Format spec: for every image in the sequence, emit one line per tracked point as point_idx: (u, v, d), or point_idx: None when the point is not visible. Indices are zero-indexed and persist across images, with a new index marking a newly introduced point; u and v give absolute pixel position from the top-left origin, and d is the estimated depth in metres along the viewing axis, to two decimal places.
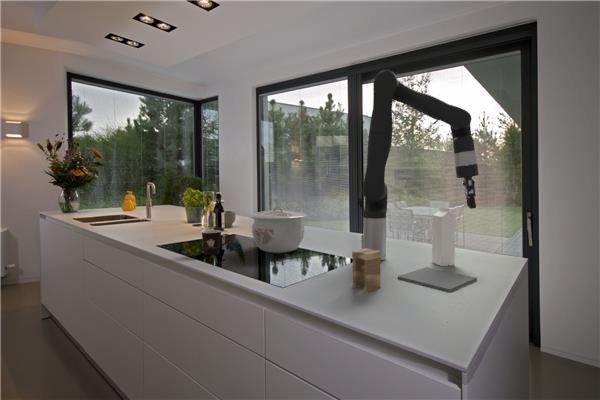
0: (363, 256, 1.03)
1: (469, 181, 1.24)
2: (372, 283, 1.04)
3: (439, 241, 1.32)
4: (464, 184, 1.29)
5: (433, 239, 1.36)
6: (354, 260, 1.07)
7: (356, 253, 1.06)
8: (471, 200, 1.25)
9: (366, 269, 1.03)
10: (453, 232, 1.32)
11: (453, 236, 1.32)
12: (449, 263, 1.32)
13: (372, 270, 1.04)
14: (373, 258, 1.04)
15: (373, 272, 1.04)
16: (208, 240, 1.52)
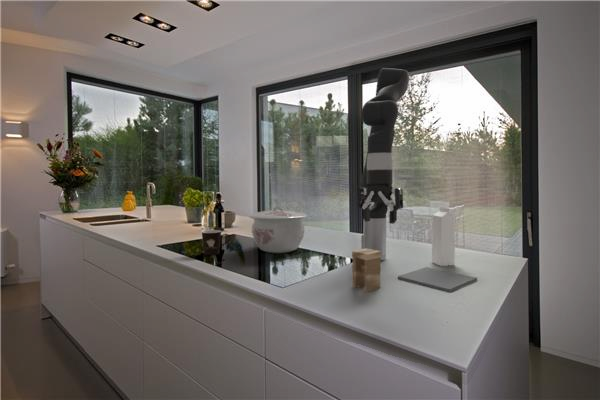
0: (363, 256, 1.03)
1: None
2: (372, 283, 1.04)
3: (439, 241, 1.32)
4: None
5: (433, 239, 1.36)
6: (354, 260, 1.07)
7: (356, 253, 1.06)
8: None
9: (366, 269, 1.03)
10: (453, 232, 1.32)
11: (453, 236, 1.32)
12: (449, 263, 1.32)
13: (372, 270, 1.04)
14: (373, 258, 1.04)
15: (373, 272, 1.04)
16: (208, 240, 1.52)
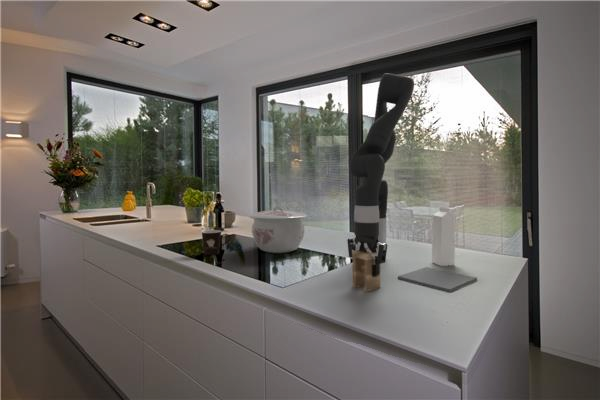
0: (363, 256, 1.03)
1: None
2: (372, 283, 1.04)
3: (439, 241, 1.32)
4: None
5: (433, 239, 1.36)
6: (354, 260, 1.07)
7: (356, 253, 1.05)
8: None
9: (366, 269, 1.03)
10: (453, 232, 1.32)
11: (453, 236, 1.32)
12: (449, 263, 1.32)
13: None
14: None
15: None
16: (208, 240, 1.52)
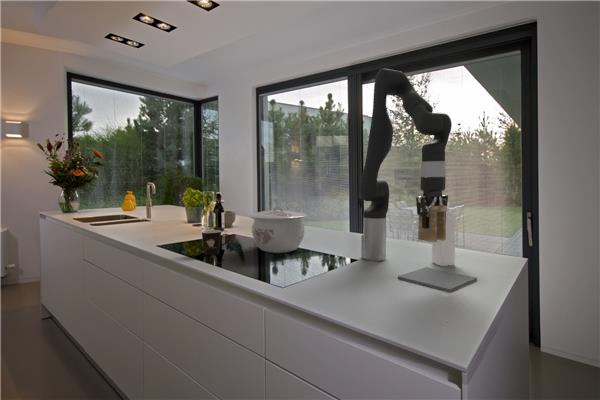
0: (444, 208, 1.11)
1: (419, 198, 1.09)
2: None
3: (439, 241, 1.32)
4: None
5: None
6: (436, 215, 1.09)
7: (439, 207, 1.09)
8: (423, 219, 1.11)
9: (445, 220, 1.12)
10: (453, 232, 1.32)
11: (453, 236, 1.32)
12: (449, 263, 1.32)
13: None
14: None
15: None
16: (208, 240, 1.52)
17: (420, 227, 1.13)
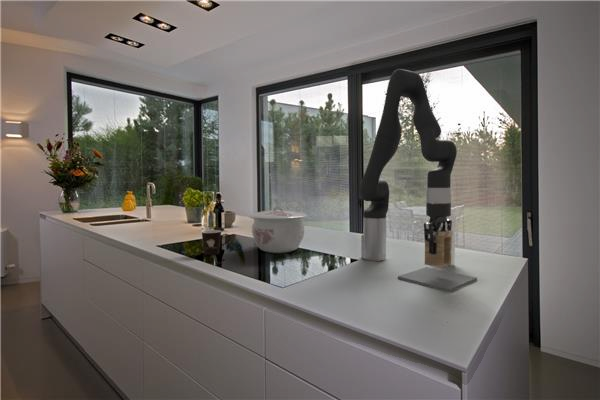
0: (450, 233, 1.12)
1: (427, 225, 1.10)
2: None
3: None
4: None
5: None
6: (443, 241, 1.10)
7: (445, 233, 1.11)
8: (430, 245, 1.12)
9: (450, 245, 1.13)
10: (453, 232, 1.32)
11: (453, 236, 1.32)
12: None
13: None
14: None
15: None
16: (208, 240, 1.52)
17: (426, 252, 1.14)
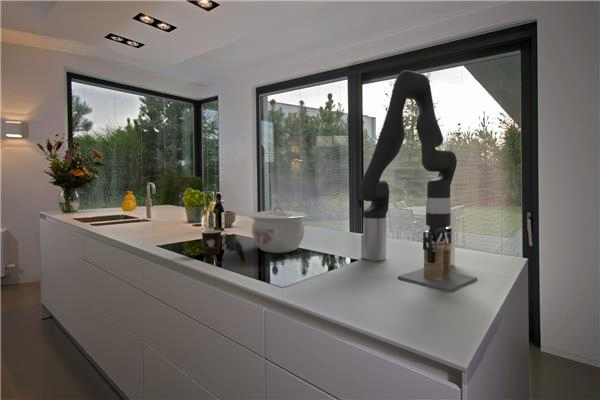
0: (449, 246, 1.13)
1: (426, 233, 1.10)
2: None
3: None
4: None
5: None
6: (442, 254, 1.11)
7: (445, 246, 1.11)
8: (429, 254, 1.11)
9: (449, 257, 1.14)
10: (453, 232, 1.32)
11: (453, 236, 1.32)
12: None
13: None
14: None
15: None
16: (208, 240, 1.52)
17: (426, 264, 1.14)
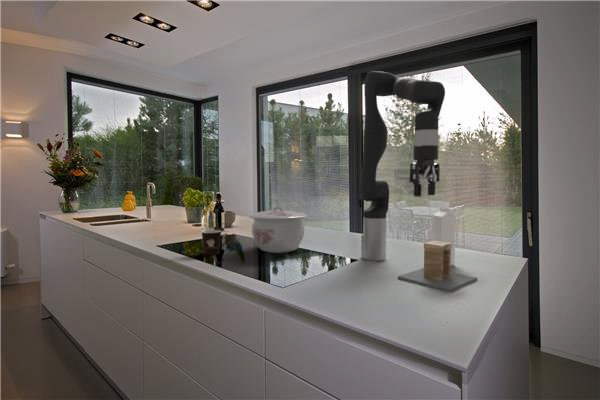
0: (449, 246, 1.13)
1: (413, 164, 1.07)
2: None
3: (439, 241, 1.32)
4: None
5: (433, 239, 1.36)
6: (442, 254, 1.11)
7: (445, 246, 1.11)
8: (415, 186, 1.09)
9: (449, 257, 1.14)
10: (453, 232, 1.32)
11: (453, 236, 1.32)
12: None
13: None
14: None
15: None
16: (208, 240, 1.52)
17: (426, 264, 1.14)
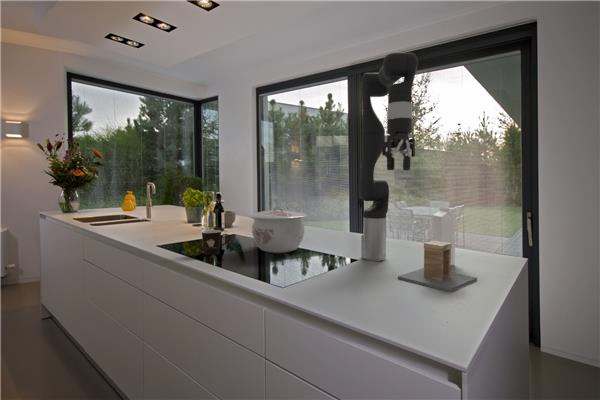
0: (449, 246, 1.13)
1: (385, 137, 1.05)
2: None
3: (439, 241, 1.32)
4: None
5: (433, 239, 1.36)
6: (442, 254, 1.11)
7: (445, 246, 1.11)
8: (388, 160, 1.07)
9: (449, 257, 1.14)
10: (453, 232, 1.32)
11: (453, 236, 1.32)
12: None
13: None
14: None
15: None
16: (208, 240, 1.52)
17: (426, 264, 1.14)
